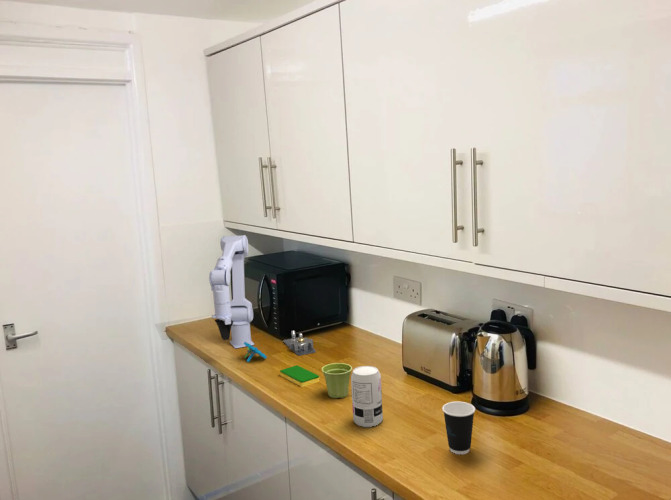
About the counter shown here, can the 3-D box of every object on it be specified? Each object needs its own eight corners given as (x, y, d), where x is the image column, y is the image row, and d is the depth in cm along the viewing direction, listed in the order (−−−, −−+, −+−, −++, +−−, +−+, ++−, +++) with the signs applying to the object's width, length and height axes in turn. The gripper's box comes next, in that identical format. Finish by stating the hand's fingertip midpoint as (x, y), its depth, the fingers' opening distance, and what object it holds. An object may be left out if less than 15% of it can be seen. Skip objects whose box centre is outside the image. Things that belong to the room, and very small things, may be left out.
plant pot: (334, 386, 190) (333, 360, 189) (359, 392, 185) (357, 365, 183) (317, 397, 183) (315, 370, 181) (342, 403, 177) (340, 376, 176)
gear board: (280, 343, 237) (279, 327, 235) (302, 339, 240) (301, 323, 239) (295, 356, 220) (294, 339, 219) (318, 351, 224) (317, 335, 223)
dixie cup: (479, 445, 148) (479, 404, 146) (470, 460, 142) (470, 417, 140) (449, 439, 152) (448, 399, 150) (439, 454, 145) (437, 412, 143)
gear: (271, 357, 216) (250, 342, 212) (262, 371, 214) (241, 355, 211) (261, 353, 226) (241, 338, 222) (252, 366, 224) (232, 351, 221)
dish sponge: (297, 371, 206) (297, 364, 206) (320, 382, 195) (319, 375, 195) (280, 376, 202) (279, 370, 202) (302, 388, 191) (301, 381, 191)
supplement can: (348, 419, 167) (345, 368, 164) (374, 412, 170) (372, 363, 167) (361, 431, 159) (358, 378, 157) (388, 423, 163) (385, 372, 160)
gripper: (207, 299, 217) (210, 335, 219) (215, 308, 203) (218, 346, 206) (226, 296, 219) (229, 332, 222) (235, 305, 206) (238, 342, 208)
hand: (225, 338), depth 214 cm, fingers closed
